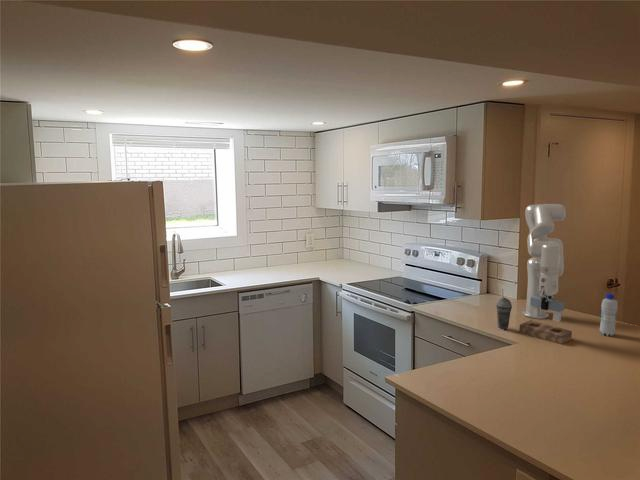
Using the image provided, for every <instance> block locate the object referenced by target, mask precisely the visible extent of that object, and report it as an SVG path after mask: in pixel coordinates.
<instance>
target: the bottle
mask: <svg viewBox="0 0 640 480" xmlns="http://www.w3.org/2000/svg"><path fill="white" fill-rule="evenodd" d="M600 307H601V308H600V310H601V315H600V317H601V318H600V325H599V333H600V334H601V335H602V336H604V335H606V337H609V336H610V337H612V336H614V335H615V334H616V320H617V312H618V308H619V307H618V300H616V299H615V294H614V293H606V294H605V298H604V299H602V302H601V305H600Z"/></svg>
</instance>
